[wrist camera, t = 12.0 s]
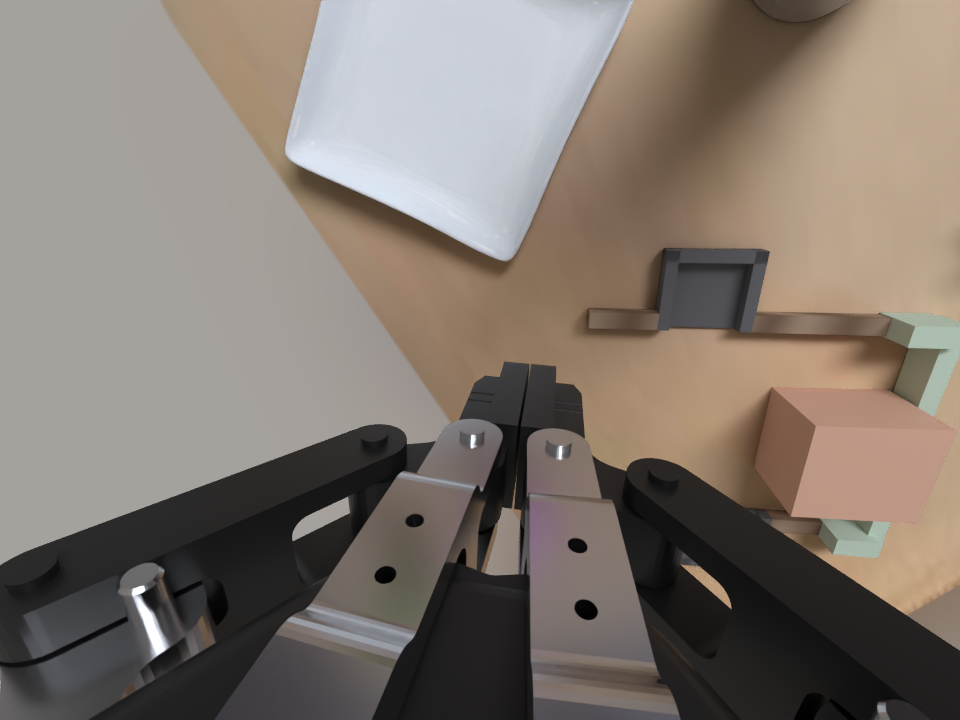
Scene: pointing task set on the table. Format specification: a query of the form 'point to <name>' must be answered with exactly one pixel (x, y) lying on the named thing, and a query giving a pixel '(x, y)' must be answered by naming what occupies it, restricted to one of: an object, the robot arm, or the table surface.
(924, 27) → the table surface
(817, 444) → the terracotta block
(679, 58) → the table surface
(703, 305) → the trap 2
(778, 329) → the walnut lane
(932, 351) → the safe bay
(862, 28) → the table surface
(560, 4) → the salad plate
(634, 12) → the table surface
